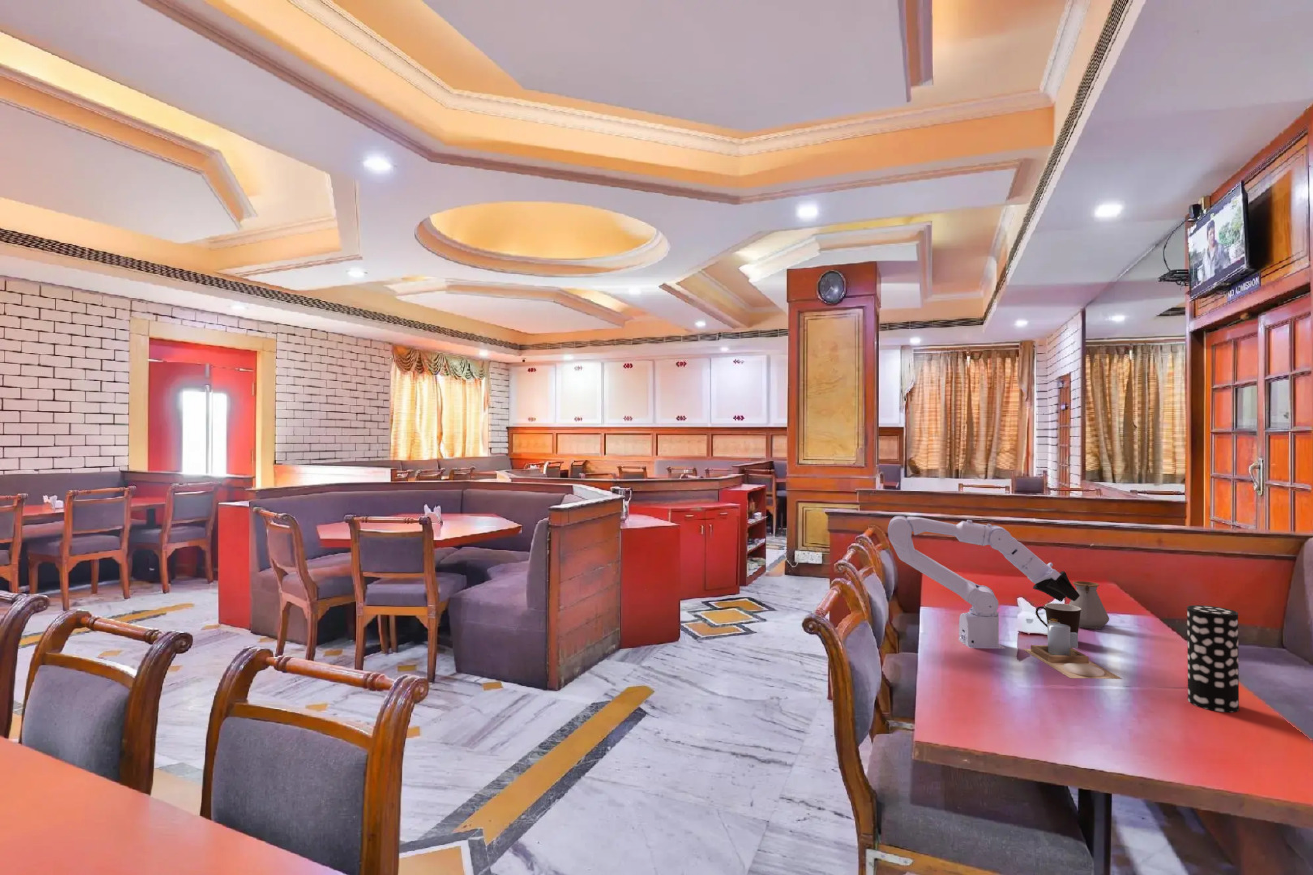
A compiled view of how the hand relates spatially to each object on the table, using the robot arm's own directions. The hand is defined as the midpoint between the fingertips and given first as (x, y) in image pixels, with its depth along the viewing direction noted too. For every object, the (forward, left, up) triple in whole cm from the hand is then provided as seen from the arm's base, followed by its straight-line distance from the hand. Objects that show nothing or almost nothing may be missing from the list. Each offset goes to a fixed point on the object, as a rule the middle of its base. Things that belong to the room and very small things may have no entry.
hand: (1070, 598), depth 176 cm
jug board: (-5, -9, -15) cm, 18 cm away
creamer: (-5, -4, -14) cm, 16 cm away
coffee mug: (+4, +12, -15) cm, 19 cm away
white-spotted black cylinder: (+11, -33, -15) cm, 38 cm away
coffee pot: (+19, +25, -15) cm, 34 cm away
